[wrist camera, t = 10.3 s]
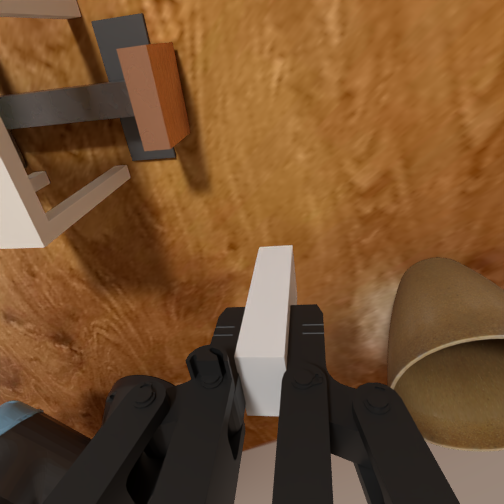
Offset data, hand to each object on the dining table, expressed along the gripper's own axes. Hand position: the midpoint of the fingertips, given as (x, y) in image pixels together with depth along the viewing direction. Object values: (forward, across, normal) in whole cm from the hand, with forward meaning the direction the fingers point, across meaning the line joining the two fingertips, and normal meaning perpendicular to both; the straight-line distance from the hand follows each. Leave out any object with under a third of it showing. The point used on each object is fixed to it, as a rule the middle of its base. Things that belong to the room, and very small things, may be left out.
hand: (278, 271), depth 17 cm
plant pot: (+23, -15, +18) cm, 33 cm away
